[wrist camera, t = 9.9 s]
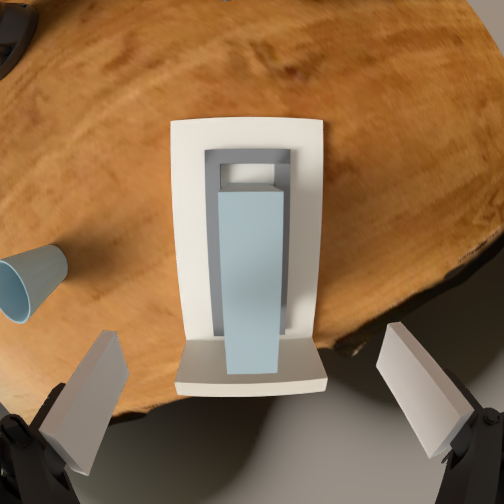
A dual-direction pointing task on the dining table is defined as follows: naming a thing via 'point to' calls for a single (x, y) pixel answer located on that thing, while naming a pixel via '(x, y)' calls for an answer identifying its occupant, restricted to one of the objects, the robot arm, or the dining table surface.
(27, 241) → the dining table surface
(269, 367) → the light blue block
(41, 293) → the cup
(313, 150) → the track
